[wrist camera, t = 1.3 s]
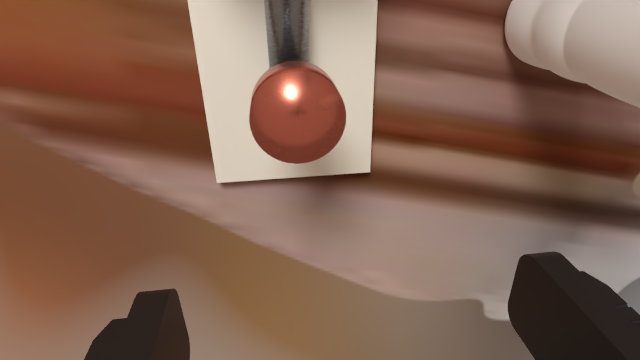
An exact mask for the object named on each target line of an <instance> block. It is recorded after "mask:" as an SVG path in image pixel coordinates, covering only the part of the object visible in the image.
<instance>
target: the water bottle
mask: <svg viewBox="0 0 640 360" xmlns="http://www.w3.org/2000/svg"><path fill="white" fill-rule="evenodd" d="M505 37H506V41H507V44H508V47H509V48H510V50H511V51H512V53H513V54H514V55H515V56H516V57H517V58H518V59H520V60H521V61H523V62H525V63H527V64H530V65H533V66H535V67H539V68H542V69H546V70H550V71H552V72H553V73H555V74H557V75H559V76H561V77H563V78H566V79H569V80H572V81H575V82H580V83H586V84H588V85H590V86H592V87H593V88H595V89H597V90H599V91H601V92H603V93H605V94H607V95H610V96H612V97H614V98H616V99H619V100H621V101H623V102H626V103H628V104H631V105H633V106H636V107H638V108H640V0H512V2H511V4H510V6H509V8H508V11H507V15H506V20H505Z"/></svg>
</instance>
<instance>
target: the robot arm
mask: <svg viewBox="0 0 640 360" xmlns="http://www.w3.org/2000/svg"><path fill="white" fill-rule="evenodd" d="M508 313H509V318H510V321H511V323H512V325H513V327H514V329H515V331H516V332H517V334H518V335H519V337H520V338H521V339H522V341H523V342H524V344H525V345H526V347H527V348H528V350H529V351H530V353H531V354H532V355H533V357H534V358H535V360H640V315H639V314H638V313H637V312H636V311H635V310H634V309H633V308H631V307H628V306H627V303H626V302H625V301H624V300H623V299H622V298H621V297H620V296H619V295H618V294H616V293H615V292H614V291H613V290H612V289H611V288H610V287H609V286H608V285H606V284H604V283H603V282H601V281H599V280H597V279H596V278H594V277H592V276H591V275H589V274H587V273H585V272H584V271H579V270H578V269H576V268H575V267H574V266H573V265H572V264H571V263H570V262H569V261H568V260H567V259H566V258H565V257H564V256H563V255H562V254H560V253H558V252H545V253H535V254H526V255H523V256H521V257H520V259H519V261H518V265H517V269H516V273H515V277H514V281H513V285H512V289H511V293H510V297H509V301H508ZM84 360H190V343H189V336H188V332H187V328H186V325H185V320H184V317H183V312H182V308H181V304H180V300H179V296H178V293H177V291H176V290H175V289H165V290H155V291H145V292H139V293H138V294H137V295H136V297H135V299H134V302H133V304H132V307H131V309H130V312H129V314H128V317H127V318H123V319H115V320H112V321H111V322H110V323H109V324H108V325H107V326H106V327H105V328H104V329H103V330H102V331H101V333H100V334H99V335H98V336H97V337H96V338H95V339H94V340H93V342H92V344H91V346H90V348H89V351H88V353H87V355H86V357H85V359H84Z"/></svg>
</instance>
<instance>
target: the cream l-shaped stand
mask: <svg viewBox="0 0 640 360" xmlns="http://www.w3.org/2000/svg"><path fill="white" fill-rule="evenodd" d="M377 5H378V0H308V28H309V60H310V63H311V64H314V65H316V66H318V67H319V68H321V69H322V70H323V71H325V72H326V73H327V74H328V75H329V76H330V78H331V79H332V81H333V82H334V84H335V86H336V88H337V90H338V91H339V93H340V95H341V97H342V99H343V102H344V105H345V109H346V125H345V129H344V132H343V135H342V137H341V139H340V140H339V142H338V143H337V145H336V146H335V147H334V148H333V149H332V150H331V151H330V152H329V153H328V154H326V155H325V156H323V157H321V158H319V159H317V160H315V161H312V162H308V163H301V164H293V163H286V162H282V161H279V160H277V159H275V158H273V157H271V156H270V155H268V154H267V153H266V152H264V151H263V150H262V149H261V148H260V146H259V145H258V144H257V142H256V141H255V139H254V137H253V135H252V132H251V129H250V123H249V114H250V105H251V96H252V92H253V89H254V87H255V85H256V83H257V81H258V80H259V78H260V77H261V76H262V75H263V74H264V73H265V72H266V71H267V70H268V69H269V58H268V45H267V33H266V20H265V7H264V0H188V6H189V12H190V19H191V25H192V31H193V37H194V43H195V50H196V56H197V62H198V68H199V74H200V81H201V87H202V93H203V99H204V106H205V112H206V118H207V124H208V130H209V137H210V143H211V149H212V155H213V161H214V168H215V174H216V180H217V183H224V182H238V181H252V180H266V179H281V178H295V177H309V176H323V175H337V174H351V173H365V172H370V162H371V140H372V117H373V95H374V72H375V50H376V27H377Z"/></svg>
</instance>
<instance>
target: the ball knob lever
mask: <svg viewBox="0 0 640 360" xmlns="http://www.w3.org/2000/svg"><path fill="white" fill-rule="evenodd" d="M264 7H265V20H266V33H267V45H268V58H269V69H268V70H267V71H266V72H265V73H264V74H263V75H262V76H261V77H260V78H259V80H258V81H257V83H256V85H255V87H254V89H253V92H252V96H251V105H250V114H249V123H250V129H251V132H252V135H253V137H254V139H255V141H256V142H257V144H258V145H259V146H260V148H261V149H262V150H263V151H264V152H266V153H267V154H268V155H270V156H271V157H273V158H275V159H277V160H279V161H282V162H286V163H293V164H301V163H308V162H312V161H315V160H317V159H319V158H321V157H323V156H325V155H326V154H328V153H329V152H330V151H331V150H332V149H333V148H334V147H335V146H336V145H337V143H338V142H339V140H340V139H341V137H342V135H343V132H344V129H345V125H346V109H345V105H344V102H343V99H342V97H341V95H340V93H339V91H338V90H337V88H336V86H335V84H334V82H333V81H332V79H331V78H330V76H329V75H328V74H327V73H326V72H325V71H323V70H322V69H321V68H319V67H318V66H316V65H314V64H311V63H310V60H309V28H308V0H264Z"/></svg>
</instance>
